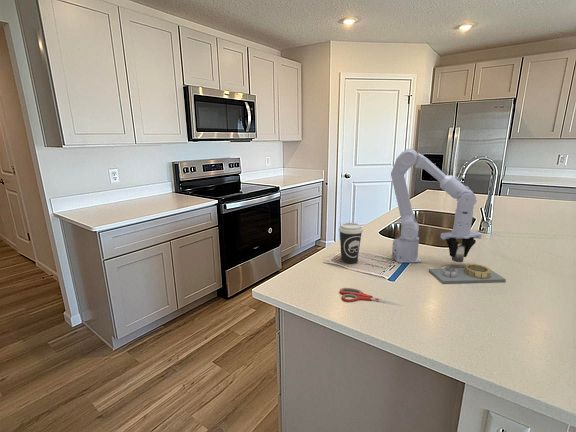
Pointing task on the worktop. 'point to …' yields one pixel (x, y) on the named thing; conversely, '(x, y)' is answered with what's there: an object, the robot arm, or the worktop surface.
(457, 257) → the metal cylinder peg
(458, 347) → the worktop surface
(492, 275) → the fitting board
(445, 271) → the narrow socket
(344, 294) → the scissors
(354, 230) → the coffee cup
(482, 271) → the wide socket
